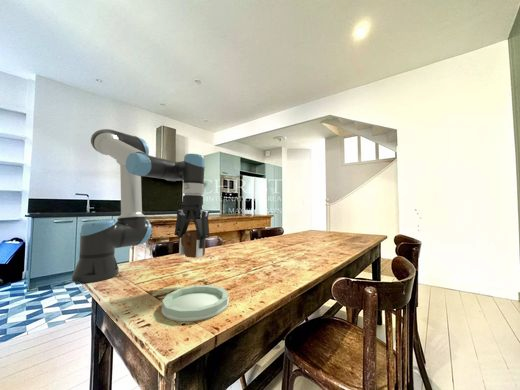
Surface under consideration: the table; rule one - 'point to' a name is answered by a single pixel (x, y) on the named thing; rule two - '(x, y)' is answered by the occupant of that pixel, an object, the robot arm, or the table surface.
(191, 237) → the mug
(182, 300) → the shallow round dish
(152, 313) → the table surface
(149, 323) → the table surface
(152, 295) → the table surface
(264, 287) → the table surface
